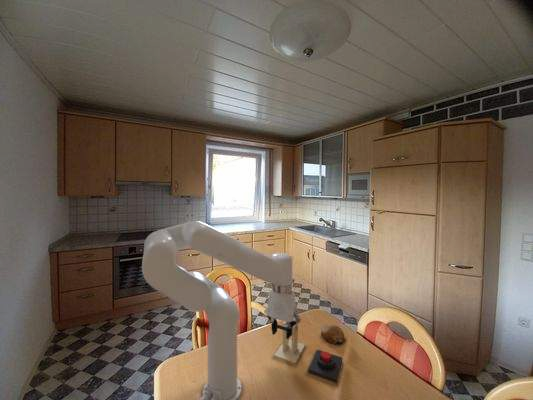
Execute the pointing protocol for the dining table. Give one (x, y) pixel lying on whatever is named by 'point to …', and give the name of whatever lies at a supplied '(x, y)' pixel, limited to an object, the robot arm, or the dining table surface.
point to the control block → (326, 367)
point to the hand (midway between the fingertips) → (281, 334)
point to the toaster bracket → (290, 346)
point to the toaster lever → (281, 327)
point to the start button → (325, 357)
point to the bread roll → (332, 334)
